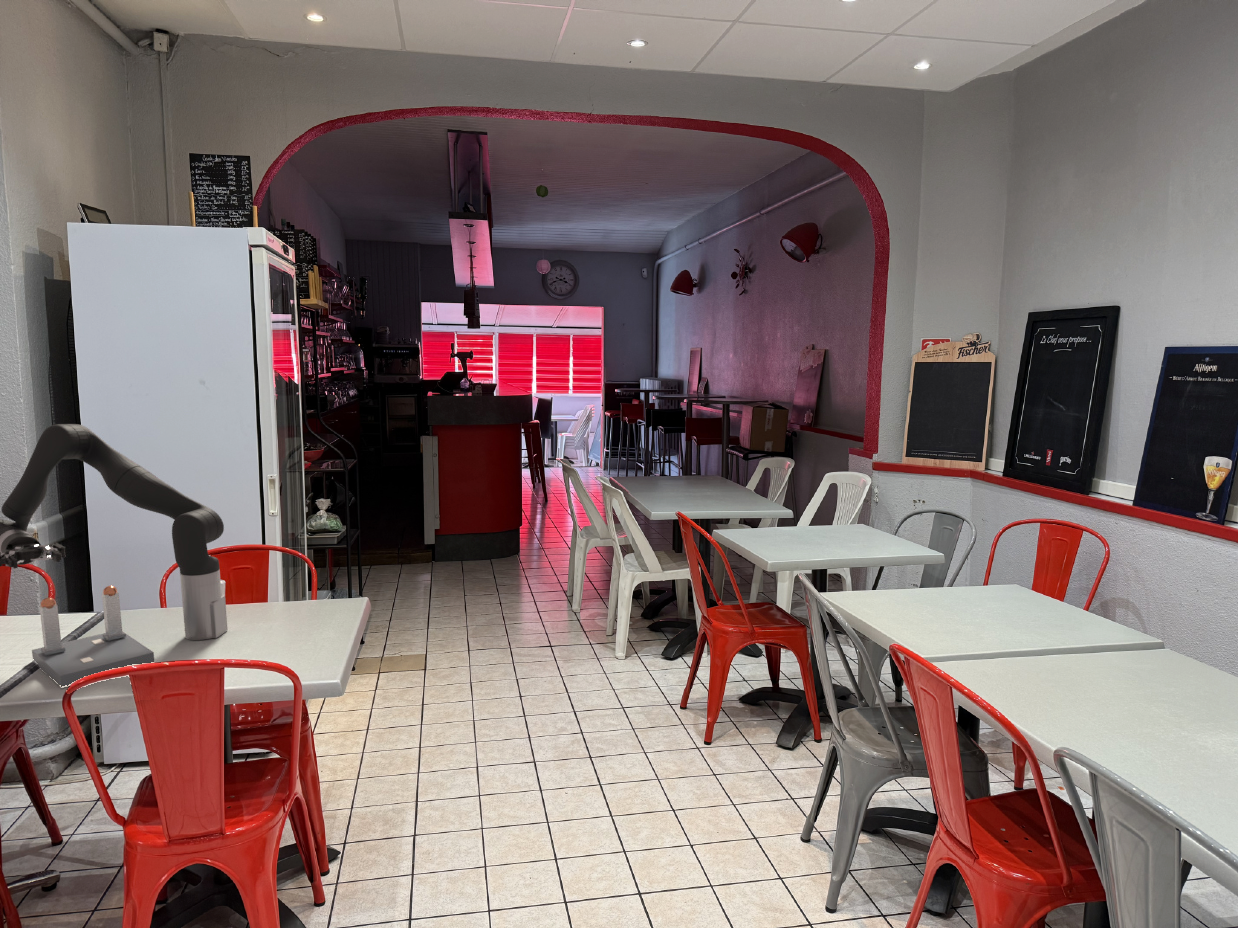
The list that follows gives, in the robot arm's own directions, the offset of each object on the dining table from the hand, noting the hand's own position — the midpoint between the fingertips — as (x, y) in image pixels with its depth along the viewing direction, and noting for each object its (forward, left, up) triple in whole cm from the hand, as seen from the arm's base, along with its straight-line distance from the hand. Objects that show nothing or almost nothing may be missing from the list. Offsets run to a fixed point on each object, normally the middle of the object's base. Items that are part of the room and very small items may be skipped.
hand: (37, 561), depth 196 cm
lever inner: (-13, -5, -21) cm, 25 cm away
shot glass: (-21, -41, -24) cm, 52 cm away
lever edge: (-5, +4, -21) cm, 22 cm away
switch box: (-14, +4, -24) cm, 28 cm away
